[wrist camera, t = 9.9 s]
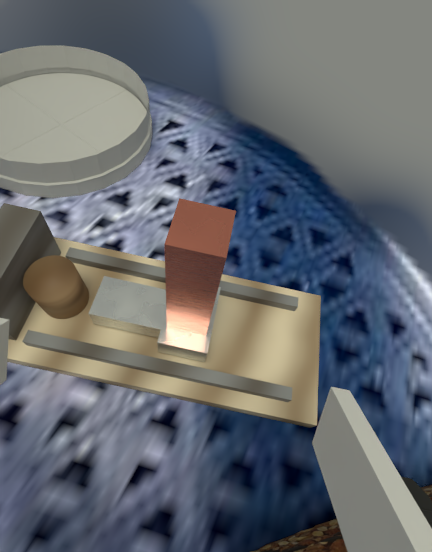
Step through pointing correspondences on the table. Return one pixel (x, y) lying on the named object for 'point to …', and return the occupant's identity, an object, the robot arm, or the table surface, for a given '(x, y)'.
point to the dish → (69, 121)
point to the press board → (144, 350)
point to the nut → (56, 286)
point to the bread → (317, 538)
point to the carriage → (175, 285)
